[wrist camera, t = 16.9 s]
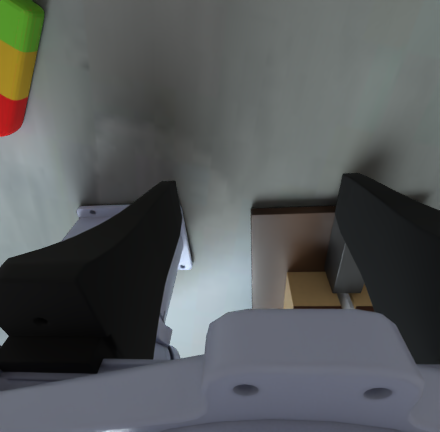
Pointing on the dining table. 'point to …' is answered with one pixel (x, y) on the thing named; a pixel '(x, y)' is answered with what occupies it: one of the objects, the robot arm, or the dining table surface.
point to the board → (286, 248)
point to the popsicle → (17, 59)
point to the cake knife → (342, 269)
